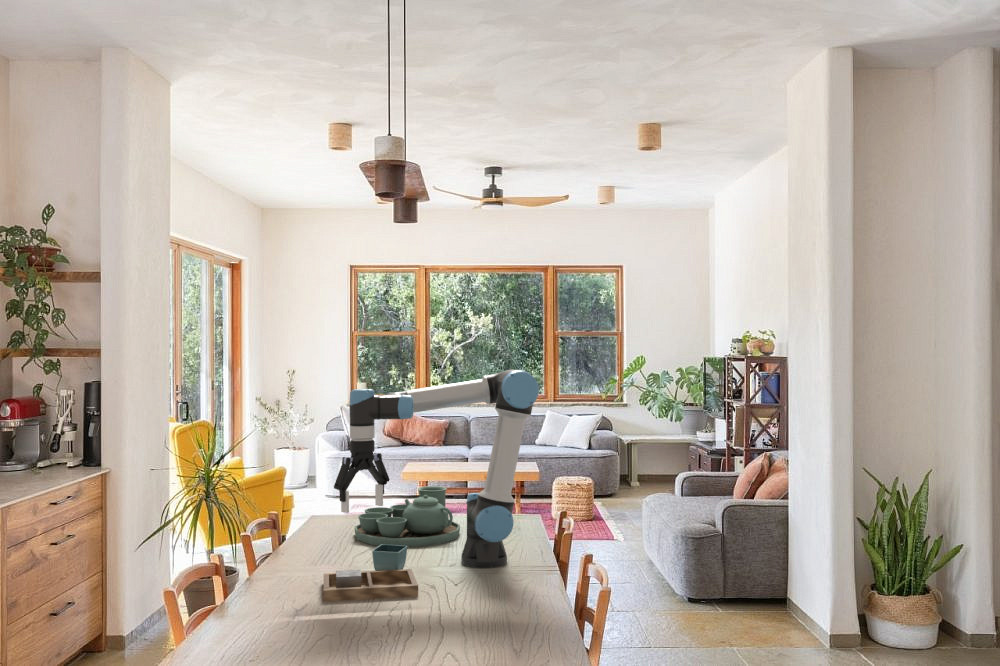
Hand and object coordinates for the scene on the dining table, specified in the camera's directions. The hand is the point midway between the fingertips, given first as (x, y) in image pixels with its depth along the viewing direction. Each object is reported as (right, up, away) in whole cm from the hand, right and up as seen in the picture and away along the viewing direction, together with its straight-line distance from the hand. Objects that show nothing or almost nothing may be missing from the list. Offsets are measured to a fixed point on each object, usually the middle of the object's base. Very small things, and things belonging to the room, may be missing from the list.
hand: (362, 509), depth 254 cm
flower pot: (+8, -22, +2) cm, 23 cm away
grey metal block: (-1, -20, -16) cm, 26 cm away
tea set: (+7, -23, +60) cm, 65 cm away
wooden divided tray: (+5, -21, -15) cm, 26 cm away
